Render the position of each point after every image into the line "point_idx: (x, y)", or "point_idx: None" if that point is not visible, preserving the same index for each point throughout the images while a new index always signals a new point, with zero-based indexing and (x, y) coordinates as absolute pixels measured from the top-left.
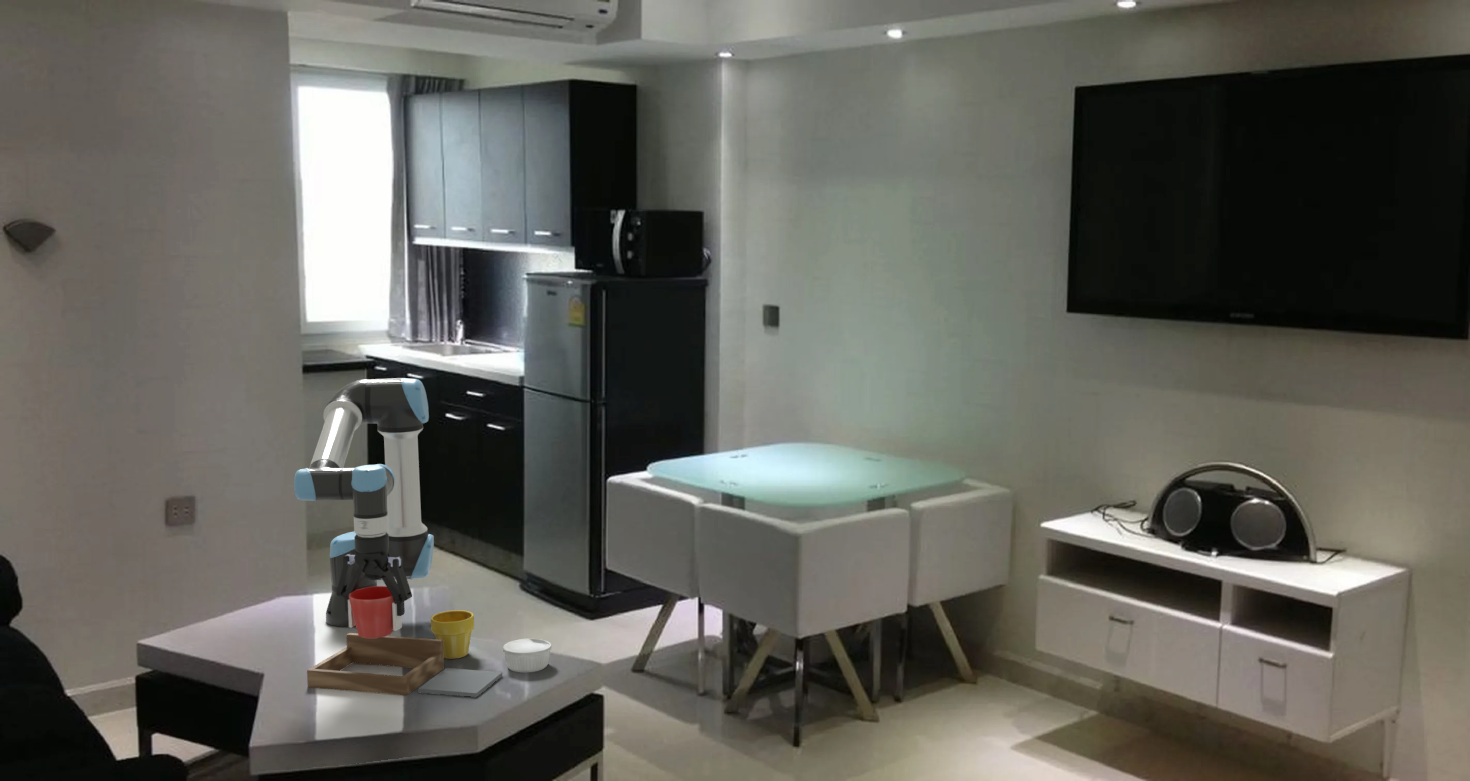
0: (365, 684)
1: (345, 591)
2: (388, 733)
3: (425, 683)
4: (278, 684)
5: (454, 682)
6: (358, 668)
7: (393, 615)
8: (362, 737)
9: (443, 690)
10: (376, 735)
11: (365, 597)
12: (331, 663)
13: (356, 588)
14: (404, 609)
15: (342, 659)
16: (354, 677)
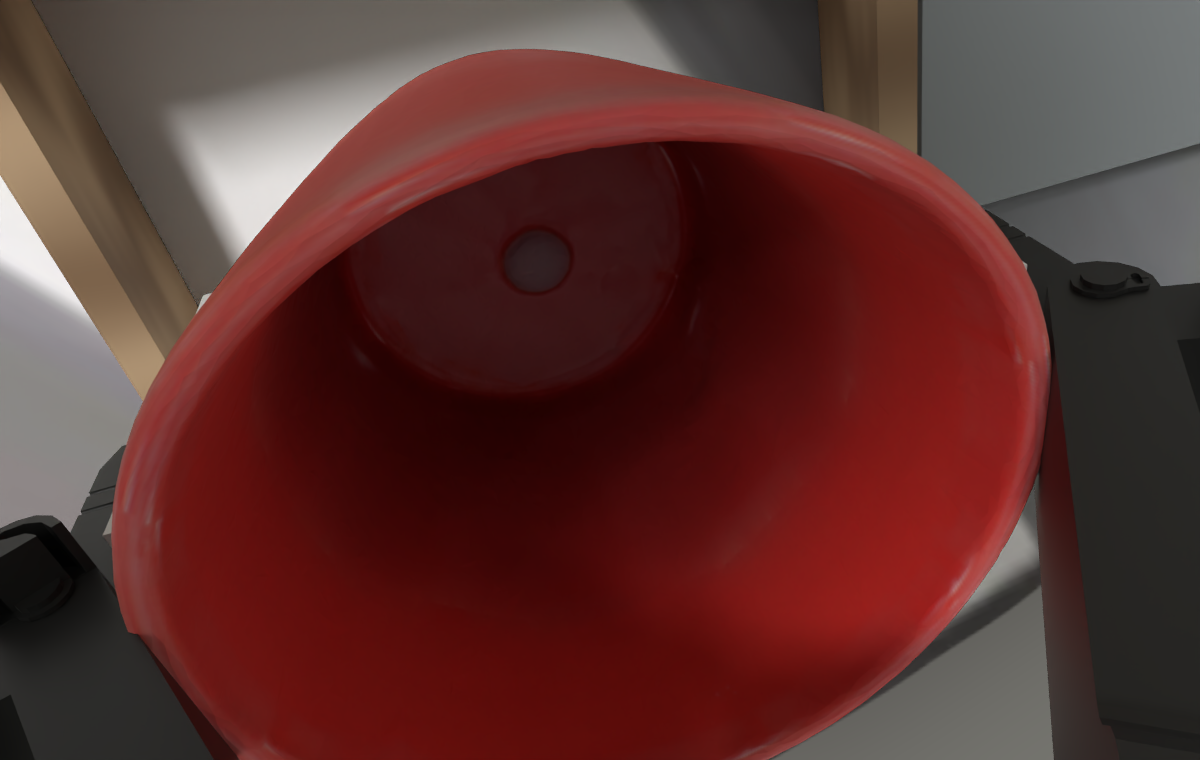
0: None
1: (28, 749)
2: (1000, 589)
3: (923, 134)
4: (36, 509)
5: (1096, 25)
6: (185, 28)
7: None
8: (926, 649)
9: (1076, 177)
10: (966, 618)
11: (241, 373)
12: (141, 286)
13: (168, 676)
14: (1011, 227)
15: (56, 117)
16: None
